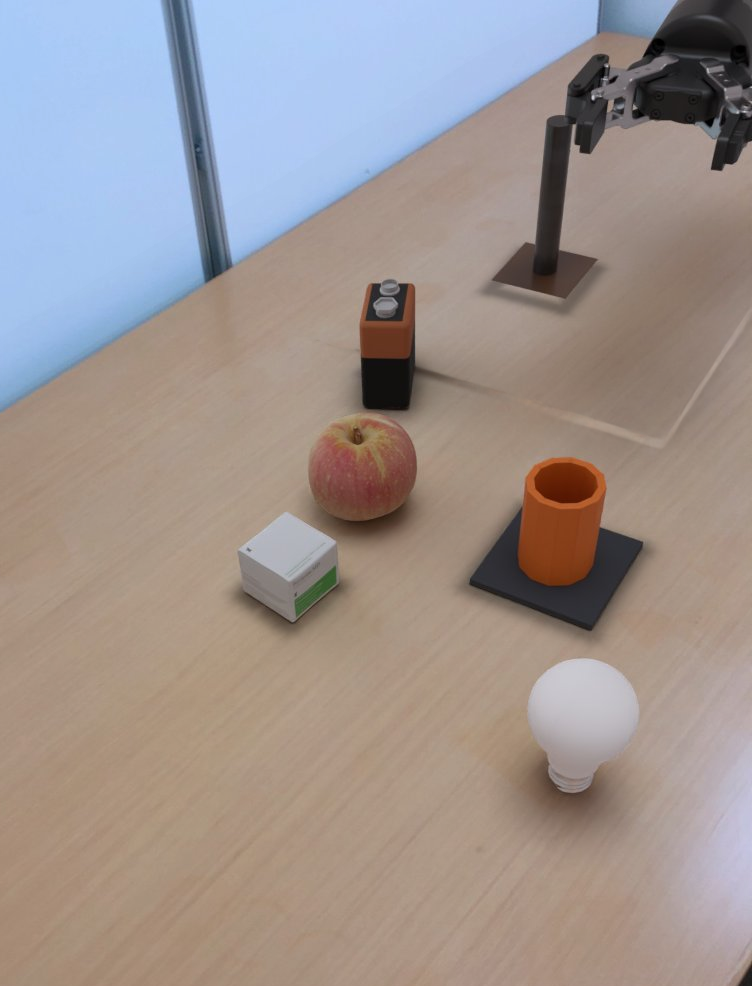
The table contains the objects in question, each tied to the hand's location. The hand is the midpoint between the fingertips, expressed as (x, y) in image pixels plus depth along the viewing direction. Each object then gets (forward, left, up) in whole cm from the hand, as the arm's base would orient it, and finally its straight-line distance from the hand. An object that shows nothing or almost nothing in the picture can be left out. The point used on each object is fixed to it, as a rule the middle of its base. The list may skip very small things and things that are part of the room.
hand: (651, 148), depth 71 cm
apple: (+16, +12, -28) cm, 34 cm away
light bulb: (-10, +29, -28) cm, 42 cm away
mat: (-1, +11, -28) cm, 30 cm away
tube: (-1, +11, -27) cm, 30 cm away
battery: (+22, -3, -28) cm, 36 cm away
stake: (+17, -26, -28) cm, 42 cm away
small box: (+16, +23, -28) cm, 40 cm away
